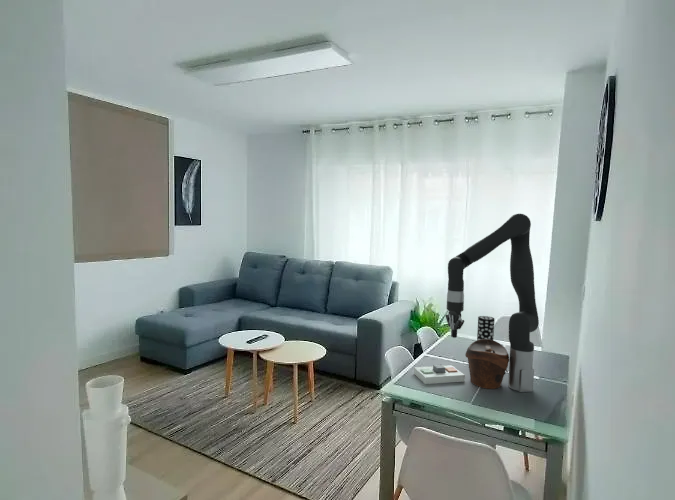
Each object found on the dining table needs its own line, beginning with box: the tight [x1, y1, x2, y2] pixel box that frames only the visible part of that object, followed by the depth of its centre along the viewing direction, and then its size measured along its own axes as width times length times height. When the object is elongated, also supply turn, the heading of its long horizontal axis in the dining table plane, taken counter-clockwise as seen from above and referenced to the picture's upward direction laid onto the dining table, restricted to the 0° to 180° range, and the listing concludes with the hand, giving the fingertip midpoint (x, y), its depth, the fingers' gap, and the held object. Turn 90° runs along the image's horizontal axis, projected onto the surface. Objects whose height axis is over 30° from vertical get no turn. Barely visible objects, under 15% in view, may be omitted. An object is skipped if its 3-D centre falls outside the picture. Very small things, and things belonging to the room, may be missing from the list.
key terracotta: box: [445, 366, 458, 373], centre depth 180 cm, size 4×4×2 cm
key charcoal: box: [432, 364, 445, 372], centre depth 178 cm, size 4×4×2 cm
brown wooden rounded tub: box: [465, 339, 510, 390], centre depth 173 cm, size 18×20×18 cm
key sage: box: [421, 369, 433, 374], centre depth 177 cm, size 4×4×2 cm
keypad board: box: [413, 364, 466, 385], centre depth 179 cm, size 12×19×3 cm, turn 103°
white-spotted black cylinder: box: [476, 315, 495, 341], centre depth 213 cm, size 8×8×20 cm
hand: (453, 337), depth 182 cm, fingers closed
